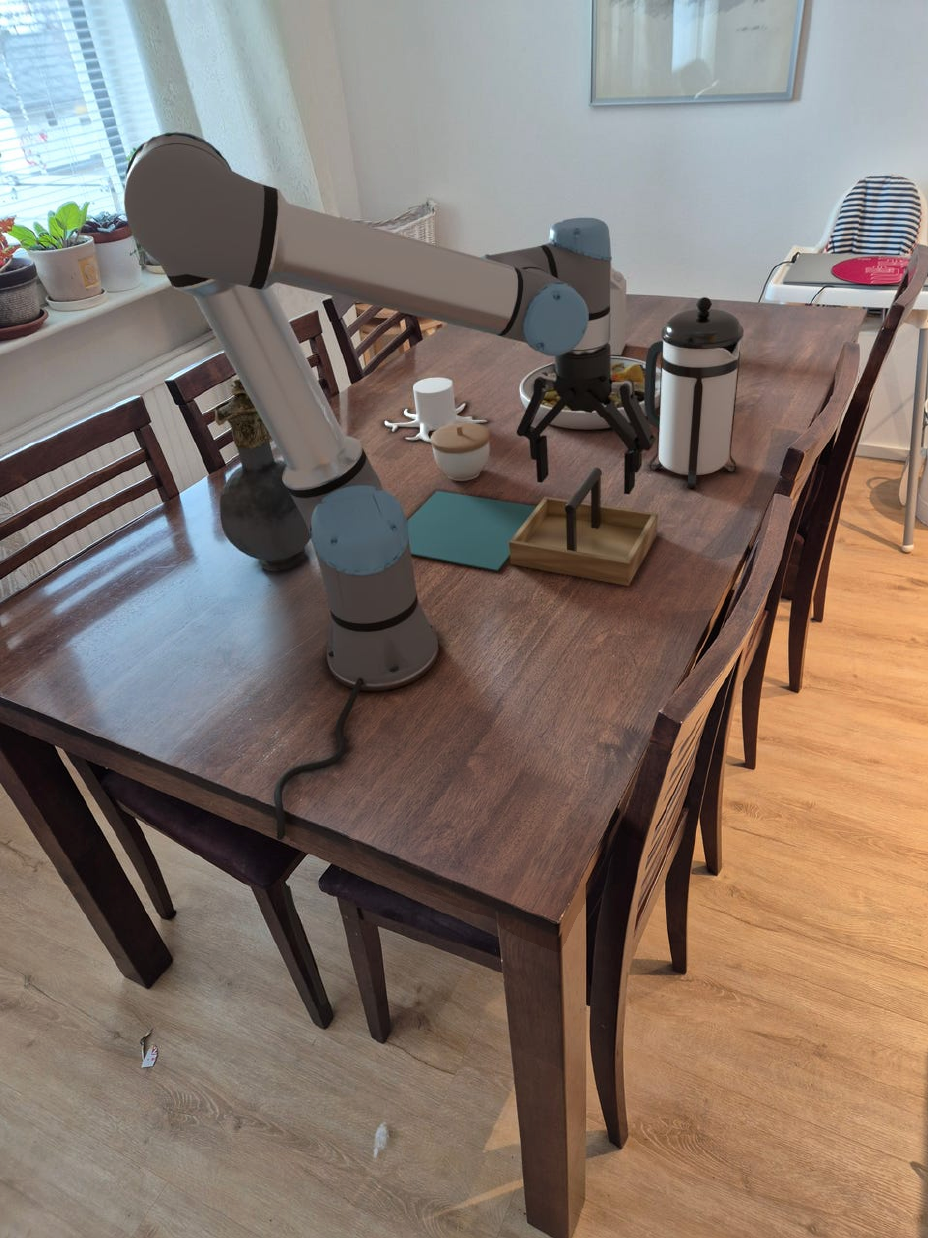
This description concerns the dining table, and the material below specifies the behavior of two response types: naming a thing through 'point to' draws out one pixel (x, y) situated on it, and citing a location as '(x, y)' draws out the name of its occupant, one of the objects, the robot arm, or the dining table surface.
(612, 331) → the milk carton
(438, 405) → the tree stump
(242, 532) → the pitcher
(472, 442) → the white jar with lid
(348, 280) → the robot arm
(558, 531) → the tray
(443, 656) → the dining table surface
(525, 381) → the bowl
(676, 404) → the coffee press
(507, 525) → the mat
